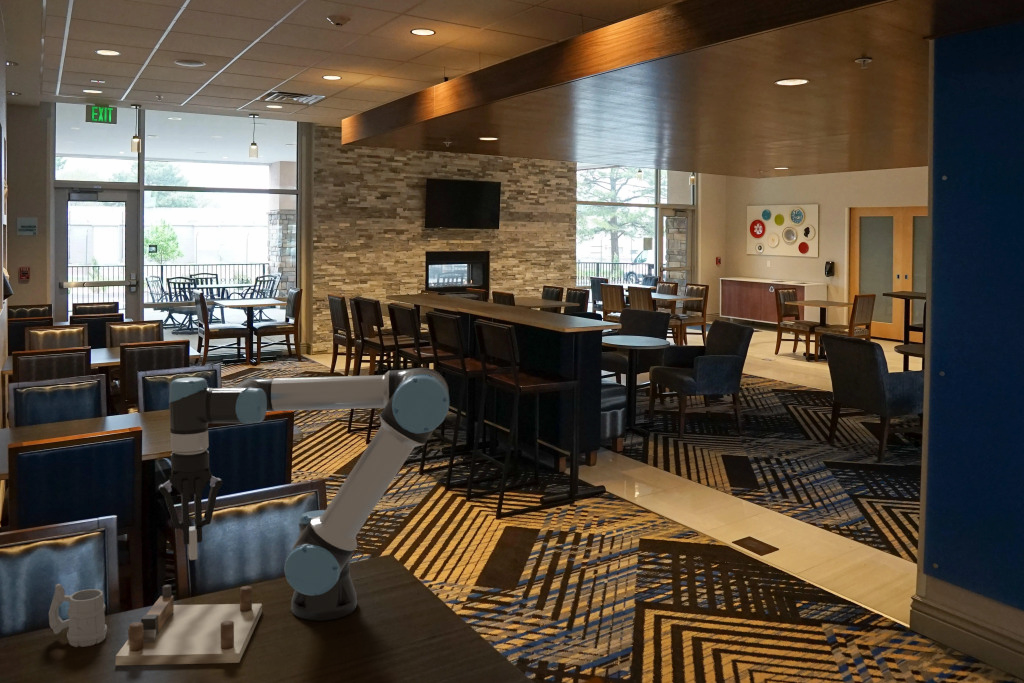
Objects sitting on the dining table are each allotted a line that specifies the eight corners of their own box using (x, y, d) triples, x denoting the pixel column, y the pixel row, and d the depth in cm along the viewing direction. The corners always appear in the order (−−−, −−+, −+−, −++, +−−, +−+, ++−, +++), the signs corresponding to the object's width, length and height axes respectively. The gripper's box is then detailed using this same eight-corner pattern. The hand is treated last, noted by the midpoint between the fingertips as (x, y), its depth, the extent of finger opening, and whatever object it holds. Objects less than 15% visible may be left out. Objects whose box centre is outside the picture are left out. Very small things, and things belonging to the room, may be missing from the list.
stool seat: (262, 611, 190) (262, 582, 190) (239, 662, 167) (239, 629, 166) (154, 613, 188) (154, 584, 187) (115, 665, 164) (115, 632, 163)
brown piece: (161, 609, 185) (161, 584, 184) (174, 609, 185) (174, 584, 184) (141, 637, 171) (141, 611, 170) (155, 637, 171) (155, 610, 171)
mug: (96, 648, 171) (95, 592, 169) (39, 647, 170) (38, 591, 169) (114, 631, 178) (113, 578, 177) (59, 630, 178) (57, 577, 177)
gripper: (219, 443, 181) (221, 547, 183) (155, 449, 175) (158, 556, 177) (224, 451, 174) (227, 558, 176) (158, 457, 168) (162, 568, 170)
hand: (193, 557), depth 177 cm, fingers closed
